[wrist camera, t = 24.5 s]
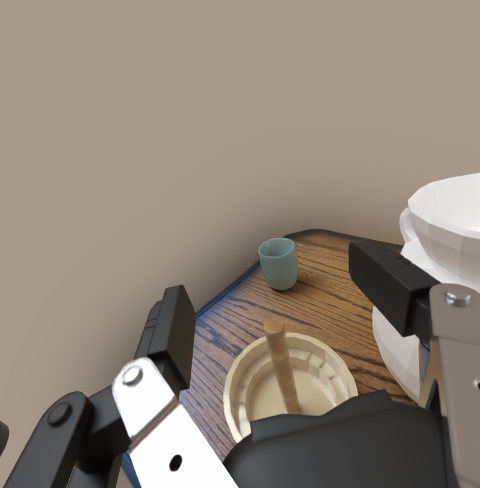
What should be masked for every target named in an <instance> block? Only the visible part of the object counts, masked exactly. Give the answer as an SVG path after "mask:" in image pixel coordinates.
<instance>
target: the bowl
mask: <svg viewBox="0 0 480 488" xmlns="http://www.w3.org/2000/svg"><path fill="white" fill-rule="evenodd" d="M285 334H286V339H287V345H288V350H289V355H290V360H291V365H292V370H293V375H294V380H295V385H296V390H297V395H298V400H299V405H300V414H299V415H315V416H319V415H323V414H325V413H326V412H328V411H330V410H331V409H333V408H335V407H336V406H338V405H339V404H341V403H343V402H344V401H346V400H348V399H349V398H351V397H354V396H358V392H357V387H356V383H355V380H354V378H353V376H352V374H351V373H350V371H349V369H348V368H347V366H346V364H345V363H344V361H343V360H342V359H341V358H340V357H339V356H338V355H337V354H336V353H335V352H334V351H333V350H332V349H331V348H330V347H329V346H327V345H326V344H324V343H322V342H320V341H318V340H317V339H315V338H313V337H310V336H306V335H302V334H298V333H285ZM223 401H224V415H225V419H226V421H227V424H228V426H229V429H230V432H231V434H232V437H233V439H234V441H235V443H236V444H237V443H238V442H239V441H241V440H242V439H243V438H244V437H245V436H247V435H249V434H250V433H251V428H250V421H253V420H258V419H262V418H266V417H270V416H274V415H279V414H286V413H285V409H284V405H283V402H282V398H281V394H280V390H279V386H278V382H277V378H276V375H275V371H274V367H273V363H272V359H271V355H270V352H269V348H268V344H267V340H266V336H265V337H262V338H260V339H258V340H257V341H255V342H253V343H251V344H250V345H248V346H247V347H246V348H245V349H244V350H243V351H242V352H241V353H240V355H239V356H238V357H237V358H236V359H235V361H234V363H233V365H232V367H231V368H230V370H229V372H228V374H227V378H226V382H225V387H224V392H223Z"/></svg>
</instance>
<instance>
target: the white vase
mask: <svg viewBox="0 0 480 488" xmlns="http://www.w3.org/2000/svg"><path fill="white" fill-rule="evenodd" d="M408 206H409V207H407V208H406V209H405V210H403V212H402V214H401V216H400V229H401V232H402V235H403V238H404V240H405V245H404V247H403V249H402V251H401V255H403V256H404V258H407V259H408V260H410V261H411V262H412V264H415V265H417V266H418V267H420V268H421V269H423V270H424V271H426V272H427V273H428V274H430V275H431V276H433V277H434V278H436V279H437V280H438V281H440V282H441V283H453V284H459V285H463V286H466V287H469V288H471V289H474V290H476V291H477V292H479V293H480V173H477V174H471V175H465V176H458V177H453V178H448V179H444V180H440V181H436V182H432V183H429V184H428V185H426V186H424V187H422V188H420V189H419V190H417V191H416V192H415V193H414V194H413V196H412V197H411V198H410V199H409V200H408ZM372 321H373V334H374V337H375V340H376V342H377V345H378V348H379V351H380V353H381V356H382V359H383V361H384V363H385V365H386V367H387V368H388V370H389V372H390V374H391V375H392V376H393V378H394V379H395V380H396V381H397V382H398V384H399V385H400V386H401V387H402V389H403V390H404V391H405V392H406V394H407V395H408V396H409V397H410V398H411V399H413V400H414V401H415V402H416V403H418V404H419V395H420V380H419V352H418V343H419V339H418V337H417V336H416V335H412V336H408V337H404V338H403V337H402V336H401V335H400V334H399V333H398V332H397V330H396V329H395V328H394V327H393V326H392V325H391V324H390V323H389V321H388V320H387V319H386V318H385V317H384V316H383V315H382V314H381V312H380V311H379V310H378V309H377V308H376V307H375V306H374V307H373V314H372Z"/></svg>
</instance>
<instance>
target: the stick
mask: <svg viewBox="0 0 480 488" xmlns="http://www.w3.org/2000/svg"><path fill="white" fill-rule="evenodd" d="M263 329H264V332H265V336H266V340H267V344H268V348H269V352H270V355H271V359H272V363H273V367H274V371H275V375H276V378H277V382H278V386H279V390H280V394H281V398H282V402H283V405H284V409H285V413H286V414H300V405H299V400H298V395H297V390H296V385H295V380H294V375H293V370H292V365H291V360H290V355H289V350H288V345H287V339H286V334H285V329H284V324H283V322H282V321H281V320H280V319H278V318H269V319H268V320H266V321H265V322H264V325H263Z"/></svg>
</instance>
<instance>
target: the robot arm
mask: <svg viewBox="0 0 480 488" xmlns="http://www.w3.org/2000/svg"><path fill="white" fill-rule="evenodd" d="M349 273H350V276H351V279H352V280H353V282H354V283H355V284H356V285H357V286H358V288H359V289H360V290H361V291H362V292H363V293H364V294H365V295H366V297H367V298H368V299H369V300H370V301H371V302H372V303H373V305H374V306H375V307H376V308H377V309H378V310H379V311H380V312H381V314H382V315H383V316H384V317H385V318H386V319H387V320H388V321H389V323H390V324H391V325H392V326H393V327H394V328H395V329H396V330H397V332H398V333H399V334H400V335H401V336H402V337H403V338H404V337H408V336H412V335H416V336H417V337H418V339H419V343H418V352H419V380H420V395H419V405H418V406H417V405H414V404H410V403H407V402H402V401H396V400H392V399H391V397H390V396H389V394H388V393H387V391H386V390H385V389H383V390H379V391H375V392H370V393H366V394H362V395H358V396H354V397H351V398H349V399H348V400H346V401H344V402H343V403H341V404H339V405H338V406H336V407H335V408H333V409H331V410H330V411H328V412H326V413H325V414H323V415H319V416H315V415H299V414H279V415H274V416H270V417H266V418H262V419H258V420H253V421H250V428H251V433H250V434H249V435H247V436H245V437H244V438H243V439H242V440H241V441H239V442H238V443H237V444H236V445H235V446H234V447H233V448H232V450H231V451H230V452H229V454H228V455H227V456H226V458H225V459H224V461H223V463H221V462H220V460H219V459H218V457H217V456H216V454H215V453H214V451H213V450H212V448H211V447H210V445H209V444H208V442H207V441H206V440H205V438H204V437H203V435H202V434H201V432H200V431H199V429H198V428H197V426H196V425H195V423H194V422H193V420H192V419H191V417H190V416H189V415H188V413H187V412H186V410H185V409H184V407H183V406H182V404H181V403H180V401H179V394H180V391H182V390H186V389H189V388H190V377H191V366H192V356H193V345H194V334H195V323H196V317H195V311H194V308H193V306H192V303H191V301H190V299H189V297H188V294H187V292H186V290H185V288H184V286H183V285H178V286H174V287H170V288H166V289H165V292H164V296H163V299H162V301H158V302H156V304H155V305H154V306H153V308H152V309H151V310H150V312H149V316H148V318H147V322H146V324H145V327H144V330H143V333H142V336H141V339H140V342H139V345H138V348H137V351H136V353H135V356H134V359H133V361H131V362H129V363H128V364H126V365H125V366H124V367H123V368H122V369H121V370H120V371H119V372H118V374H117V375H116V377H115V379H114V381H113V383H112V385H110V386H108V387H107V388H105V389H103V390H101V391H99V392H98V393H96V394H94V395H92V396H90V397H88V398H87V397H86V396H85V395H84V394H83V393H82V392H79V391H77V392H71V393H69V394H66V395H65V396H63V397H62V398H60V399H58V400H57V401H56V402H55V403H54V404H52V405H51V406H50V407H49V408H48V410H47V411H46V412H45V413H44V414H43V416H42V417H41V419H40V421H39V422H38V424H37V426H36V428H35V429H34V431H33V433H32V435H31V437H30V439H29V440H28V442H27V444H26V446H25V448H24V450H23V451H22V453H21V455H20V457H19V459H18V461H17V462H16V464H15V466H14V468H13V470H12V472H11V473H10V475H9V477H8V479H7V481H6V483H5V485H4V486H3V488H66V487H67V488H116V484H117V479H118V475H119V471H120V466H121V462H122V458H123V453H124V452H125V451H127V450H129V454H130V457H131V459H132V462H133V465H134V467H135V470H136V473H137V475H138V478H139V481H140V484H141V486H142V488H480V293H479V292H477V291H476V290H474V289H471V288H469V287H466V286H463V285H459V284H453V283H441V282H440V281H438V280H437V279H436V278H434V277H433V276H431V275H430V274H428V273H427V272H426V271H424V270H423V269H421V268H420V267H418V266H417V265H415V264H412V262H411V261H410V260H408V259H407V258H404V256H403V255H401V254H400V253H398V252H397V251H395V250H393V249H390V248H387V247H385V246H378V245H377V244H375V243H374V242H373V241H371V240H370V239H368V238H366V239H362V240H358V241H354V242H351V243H350V244H349ZM74 466H75V467H74ZM73 468H74V469H73ZM72 470H73V472H72ZM71 473H72V475H71ZM70 476H71V477H70ZM69 478H70V480H69ZM68 481H69V483H68ZM67 484H68V486H67Z"/></svg>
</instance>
